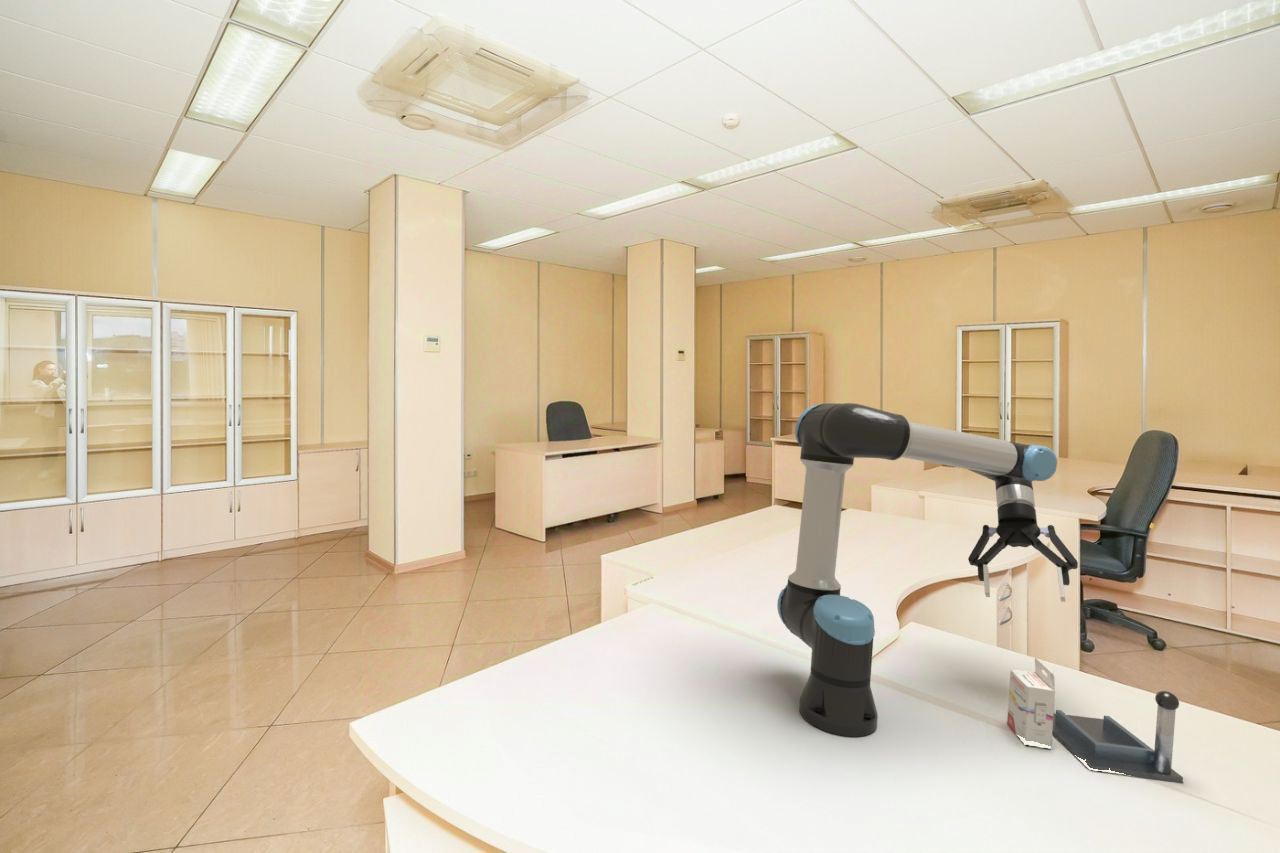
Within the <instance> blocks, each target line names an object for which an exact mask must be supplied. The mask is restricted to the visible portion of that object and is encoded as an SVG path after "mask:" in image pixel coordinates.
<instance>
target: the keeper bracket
mask: <svg viewBox="0 0 1280 853" xmlns="http://www.w3.org/2000/svg"><path fill="white" fill-rule="evenodd" d="M1154 698H1155V699H1154V700H1155V703H1156V704H1157V708H1156V709H1157V710H1156V712H1157V713H1156V724H1155V725H1156V726H1155V738H1154V739H1155V740H1154V749H1153V748H1151V747H1150V746H1149V745H1148V744H1146V743H1145V742H1143V741H1142V740H1141V738H1138V736H1136V735H1134V734H1133V733H1132V732H1131V731H1130V730H1128V729H1127V728H1125V727H1124V726H1123V725H1122V724H1120V723H1119V722H1117V721H1116V720H1115V719H1113V718H1112V717H1111V716H1109V715H1103V718H1098V717H1097V718H1096V717H1089V716H1081V715H1080V716H1079V715H1072V714H1066V713H1065V712H1063V710H1061V709H1060V710H1059V709H1055V713H1054V714H1053V729H1052V737H1054V738H1055V739H1056V740H1057V741H1058V742H1059V743H1060V744H1061V745H1062V746H1063V747H1064V748H1065V749H1066V750H1067V751H1068V752H1070V754H1071V755H1072V756H1074V755H1076V756H1077V757H1079V758H1081V759H1083V760H1085V759H1086V761H1085V762H1086V763H1087V765H1088V766H1089V767H1090V768H1093V769H1098V770H1109V768H1110V770H1111V771H1115V772H1119V773H1124V774H1126V775H1131V776H1130V777H1133V776H1134V777H1135V778H1142V779H1148V780H1156V781H1162V782H1163V781H1164V782H1172V783H1179V784H1183V783H1184V777H1183V776H1182V775H1181V774H1179V773H1178V772H1177V771H1175V770H1174V769H1173V768H1172V765H1173V764H1172V763H1173V754H1174V753H1173V752H1174V748H1173V747H1174V739H1175V737H1174V736H1175V723H1176V722H1175V721H1176V711H1177V709H1178V708H1179V706H1180V701H1179V698H1178V697H1177V696H1176V695H1175V694H1174V693H1172V692H1170V691H1165V690H1162V691H1158V692H1157V693H1156V694H1155V697H1154ZM1126 775H1125V776H1126Z"/></svg>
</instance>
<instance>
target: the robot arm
mask: <svg viewBox="0 0 1280 853" xmlns="http://www.w3.org/2000/svg"><path fill="white" fill-rule="evenodd" d="M794 429H795V430H794V435H795V440H796V442H797V443H798V445H799V446H800V455H799V456H800V457H799V458H800V459H799V461H800V462H801V464H803V465H804V467H805V475H804V487H803V495H802V496H803V497H802V507H801V517H800V524H799V526H800V527H799V537H798V546H797V554H796V564H795V566H796V567H795V570H794V572H792V573H791V574H789V575H788V576H787V577H788V578H787V584H786V585H785V587H784V588H783V589H781V591H780V593H779V595H778V598H777V606H776V607H777V613H778V615H779V616H778V617H779V618H780V620H781V622H782V624H784V626H785V627H786V629H788V630H789V632H790V633H791V634H793V635H794V636H795V637H797V638H799V639H800V640H801V641H802V643H804V644H806V645H807V646H808V647H809V648H810V649H811V657H810V658H811V659H810V673H809V676H808V678H807V681H806V683H805V685H804V688H803V689H802V692H801V694H800V698H799V709H798V710H799V714H800V715H801V717H802V718H803V719H804V720H805V721H807V723H809V724H811V725H812V726H813V727H816V728H818V729H820V730H822V731H825V732H827V733H831V734H835V735H838V736H843V737H864V736H868V735H871V734H873V733H874V732H875V731H876V730H877V728H878V718H879V717H878V710H877V707H876V702H875V699H874V696H873V692H872V687H871V679H872V678H871V676H872V665H873V664H872V663H873V648H874V637H875V634H876V630H875V619H874V615H873V613H872V610H870V608H869V607H868V606H867V605H865V603H863V602H861V601H859V600H857V599H854V598H853V599H852V598H850V597H849V596H845V595H841V587H842V585H841V584H840V583H839V581H838V580H837V578H836V567H837V558H838V546H839V538H840V528H841V518H842V508H843V507H842V505H843V498H844V488H845V479H846V473H847V471H848V470H850V469H851V468H853V466H854V462H855V461H854V460H855V458H856V459H857V458H861V459H864V458H865V459H866V458H867V459H869V458H870V459H881V460H888V461H897V460H899V459H901V458H904V459H909V460H910V459H911V460H915V461H921V462H922V461H923V462H926V463H932V464H938V465H944V466H950V467H953V468H954V467H955V468H961V469H964V470H968V471H970V472H972V473H975V474H977V475H980V476H982V477H985V478H987V479H988V480H992V481H993V482H994V483H995V497H996V498H995V499H996V507H997V522H998V523H997V526H996V527H993V526H992V527H991V526H989V525H987V524H984V525H983V526H982V532H981V535H980V537H979V538H978V540H977V541H976V544H975V545H974V547H973V549H972V551H971V553H970V554H969V556H968V559H967V560H968V563H969V565H971V566H975V567H977V577H978V581H980V582H983V584H984V585H983V588H984V594H985V598H990V597H991V593H990V591H991V590H990V575H989V566H988V564H989V563H991V562H992V560H994V558H995V557H996V556H998V555H999V554H1000V552H1002V551H1003V550H1004V549H1006V548H1007V547H1008V546H1010V547H1012V548H1017V547H1018V548H1019V547H1021V548H1028V547H1033V548H1034V549H1035V550H1037V551H1038V552H1039V553H1040V554H1042V555H1043V556H1044V557H1045V558H1046V559H1048V561H1050V562H1051V563H1052V564H1054V565H1055V566H1056V572H1057V581H1058V588H1059V596H1060V602H1066V595H1065V594H1066V593H1065V589H1064V588H1065V586H1070V583H1071V582H1070V575H1069V574H1070V573H1069V572H1070V571H1071V570H1077V569H1078V567H1079V564H1078V563H1079V562H1078V561H1077V559H1076V558H1075V556H1074V555H1073V554H1072V552H1070V550H1069V549H1068V548H1067V546H1066V545H1065V543H1064V542H1063V540H1061V539H1060V537H1059V536H1058V534H1057V533H1056V529H1055V525H1052V524H1048V525H1047V526H1046V527H1040V526H1038V520H1037V511H1036V509H1035V507H1036V503H1035V493H1034V488H1033V487H1034V486H1033V482H1035V481H1037V482H1044V481H1047V480H1050V479H1051V478H1052V477H1053V476H1054V474H1055V473H1056V470H1057V465H1058V458H1057V455H1056V454H1055V452H1054V451H1053V450H1052V449H1051V448H1049V447H1047V446H1044V445H1038V444H1025V443H1020V442H1019V443H1018V442H1015V441H1008V440H1004V439H999V438H994V437H989V436H985V435H978V434H974V433H969V432H965V431H964V432H963V431H958V430H954V429H953V430H952V429H949V428H948V429H947V428H943V427H937V426H934V425H928V424H923V423H918V422H912V421H909V418H907V417H906V416H905V415H901V414H897V413H893V412H889V411H886V410H882V409H877V408H874V407H870V406H867V405H863V404H859V403H853V402H852V403H850V402H846V403H833V402H832V403H830V402H828V403H826V402H825V403H824V402H823V403H819V404H815V405H812V406H810V407H808V408H807V409H805V410H804V411H803V412H802V413H801V414H800V415H799V417H798V418H797V420H796V423H795V426H794ZM995 534H997V536H999V538H997V540H996V542H994V543H993V544H992V545H991V547H990V548H988V550H987V551H986V552H985V553H983V551H984V550H985V548H986V546H987V544H988V543H989V540H990V537H991V538H992V537H993V536H994V535H995ZM1041 535H1044V536H1045V537H1046V538H1047V539H1048V538H1049V540H1050V542H1051V543H1052V544H1053V546H1054V547H1055V549H1056V550H1057V552H1059V553H1060V555H1061V556H1059V555H1058V554H1056V553H1055V552H1054V551H1053V550H1052V549H1051V548H1049V547H1048V546H1047V545H1045V544H1044V543H1043V542H1042V541H1041V540H1040V539H1039V537H1040V536H1041ZM982 553H983V555H982ZM981 555H982V556H981ZM1061 557H1063V559H1062V558H1061Z"/></svg>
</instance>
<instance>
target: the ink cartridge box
mask: <svg viewBox="0 0 1280 853" xmlns="http://www.w3.org/2000/svg"><path fill="white" fill-rule="evenodd" d="M1034 665H1035V666H1034V668H1035V669H1034V670H1035V671H1029V670H1022V669H1014V668H1013V669H1012V668H1011V669H1010V671H1009V672H1010V673H1009V674H1010V675H1009V687H1008V688H1009V689H1008V691H1009V692H1008V703H1007V706H1008V707H1007V720H1006V725H1008V727H1009V728H1010V729H1011V731H1012V732H1013V733H1014V734H1015V735H1016V734H1017V735H1019V736H1021V737H1023V738H1025V740H1026V741H1034V742H1038V743H1040V744H1045V745H1048V746H1051V747H1052V745H1053V744H1052V741H1053V740H1052V739H1053V735H1052V729H1053V714H1054V710H1055V695H1056V689H1055V688H1056V687H1055V686H1056V685H1055V675H1054V672H1052V671H1051V670H1050V669H1049V668H1048V667H1047V666H1046V665H1044V664H1043V663H1042V662H1041V661H1040V660H1039V659H1038V658H1034ZM1043 671H1044V672H1045V673H1046V674H1047V675H1046V674H1045V673H1044V672H1043Z"/></svg>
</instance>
